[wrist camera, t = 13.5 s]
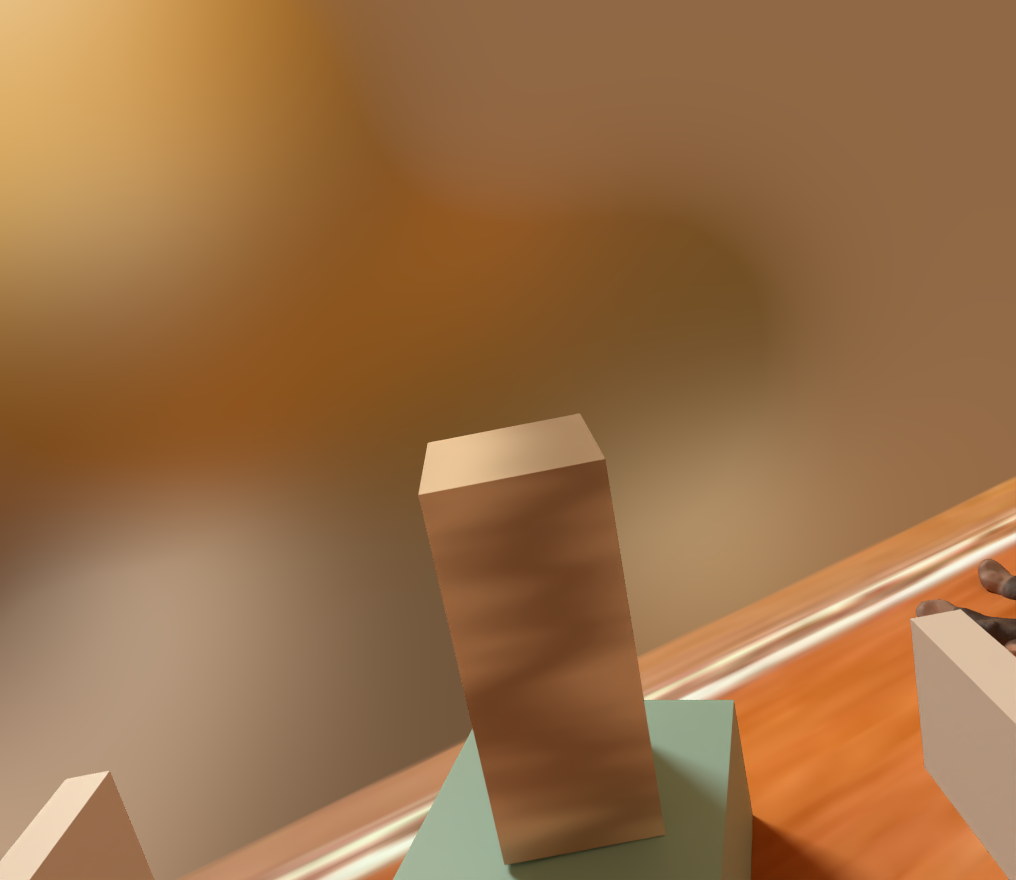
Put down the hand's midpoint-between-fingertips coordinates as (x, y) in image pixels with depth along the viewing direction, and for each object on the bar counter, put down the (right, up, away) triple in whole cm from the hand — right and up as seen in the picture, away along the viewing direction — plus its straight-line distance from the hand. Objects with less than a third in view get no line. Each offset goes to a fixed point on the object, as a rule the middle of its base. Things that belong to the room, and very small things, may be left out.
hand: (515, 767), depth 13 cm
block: (+2, -5, +11) cm, 13 cm away
